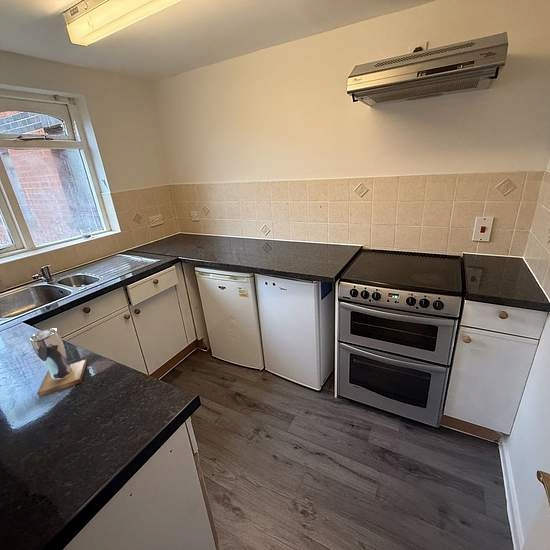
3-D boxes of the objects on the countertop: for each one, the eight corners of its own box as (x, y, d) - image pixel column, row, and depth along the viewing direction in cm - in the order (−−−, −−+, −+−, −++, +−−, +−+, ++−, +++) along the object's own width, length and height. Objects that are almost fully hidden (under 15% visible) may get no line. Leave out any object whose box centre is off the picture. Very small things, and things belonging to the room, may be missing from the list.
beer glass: (62, 383, 90) (42, 341, 84) (44, 382, 91) (22, 341, 86) (80, 367, 96) (62, 327, 91) (62, 367, 98) (43, 328, 92)
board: (39, 396, 88) (37, 392, 87) (49, 374, 97) (47, 371, 97) (81, 382, 91) (79, 378, 91) (86, 363, 101) (85, 359, 100)
